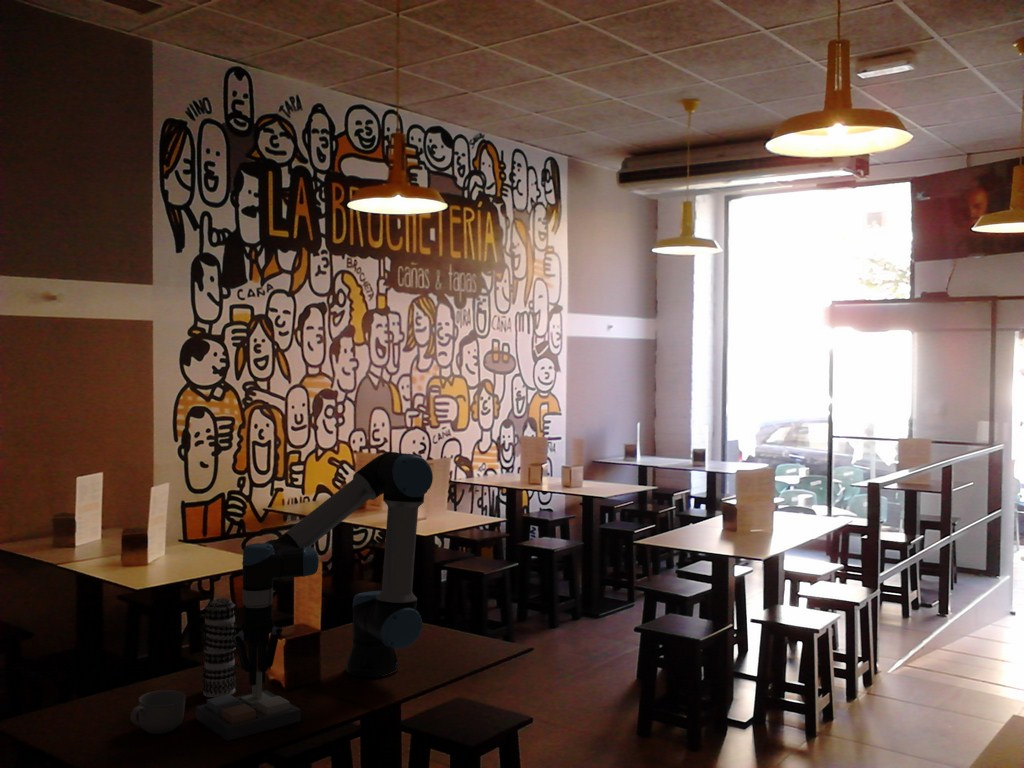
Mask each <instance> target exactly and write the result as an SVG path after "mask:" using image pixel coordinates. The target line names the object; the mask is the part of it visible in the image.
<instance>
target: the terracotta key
mask: <svg viewBox="0 0 1024 768" xmlns="http://www.w3.org/2000/svg"><path fill="white" fill-rule="evenodd" d="M222 719H223V720H224V721H226V722H227V723H229V724H230V725H232V724H236V723H240V722H244V721H248V720H252V719H256V710H255V709H253V708H251V707H250V706H248V705H246V704H242V705H238V706H233V707H229V708H225V709H222Z"/></svg>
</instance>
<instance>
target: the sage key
mask: <svg viewBox="0 0 1024 768" xmlns="http://www.w3.org/2000/svg"><path fill="white" fill-rule="evenodd" d="M267 698H271V697H270V696H269V695H267V694H265V693H263V692H262V697H261V698H255V697H253V696H252V695H248V696H244V697H241V701H243V702H244V703H246V704H248V705H249V706H252V705H256V701H258V700H262V699H267Z"/></svg>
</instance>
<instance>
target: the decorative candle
mask: <svg viewBox="0 0 1024 768" xmlns="http://www.w3.org/2000/svg"><path fill="white" fill-rule="evenodd" d="M235 607H236V604H235V603H234V602H233V601H232V600H231V599H230V598H215V599H212V600H210V601H209V602H208V604H207V605H205V606H204V608H205V617H204V620H203V621H202V622H201V623H202V624H201V625H202V627H201V629H202V630H201V631H202V632H203V634H202V644H203V645H204V646H203V647H202V650H203V652H204V655H205V657H204V659H205V660H204V667H203V668H202V669H203V670H202V671H203V672H204V673H202V677H203V678H204V679H203V680H202V685H203V686H202V689H203V691H202V692H203V693H202V694H203V695H202V696H205V697H207V698H210V699H212V697H213V698H216V697H220V696H225V695H229V694H230V695H233V694H234V693H235V692H236V685H237V684H236V681H237V678H236V676H235V675H236V673H237V672H236V670H235V669H237V665H236V664H235V663H236V662H235V650H236V649H237V646H236V643H235V642H234V640H233V639H232V636H233V635H237V634H238V631H237V630H236V629H238V625H236V624H235V623H236V616H235Z"/></svg>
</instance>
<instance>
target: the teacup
mask: <svg viewBox="0 0 1024 768" xmlns="http://www.w3.org/2000/svg"><path fill="white" fill-rule="evenodd" d="M186 699H187V695H186V693H184V692H182V691H179V690H173V689H172V690H171V689H170V690H168V689H164V690H163V689H162V690H161V689H160V690H155V691H154V690H153V691H149V692H146V693H144V694H142V695H140V697H139V698H138V705H137V706H135V707H134V708H133V709H132V711H131V713H130V721H131V722H132V724H134V725H136V726H138V727H140V728H141V730H145V732H147V733H149V734H153V735H162V734H163V733H164V734H168V733H171V732H173V731H174V730H175V729H176V728H178V727H179V726H180V725H181V724H182V723H183V720H184V717H185V711H186V710H185V709H186ZM137 715H138V719H137ZM170 731H171V732H170ZM167 732H168V733H167ZM164 734H163V735H164Z"/></svg>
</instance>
